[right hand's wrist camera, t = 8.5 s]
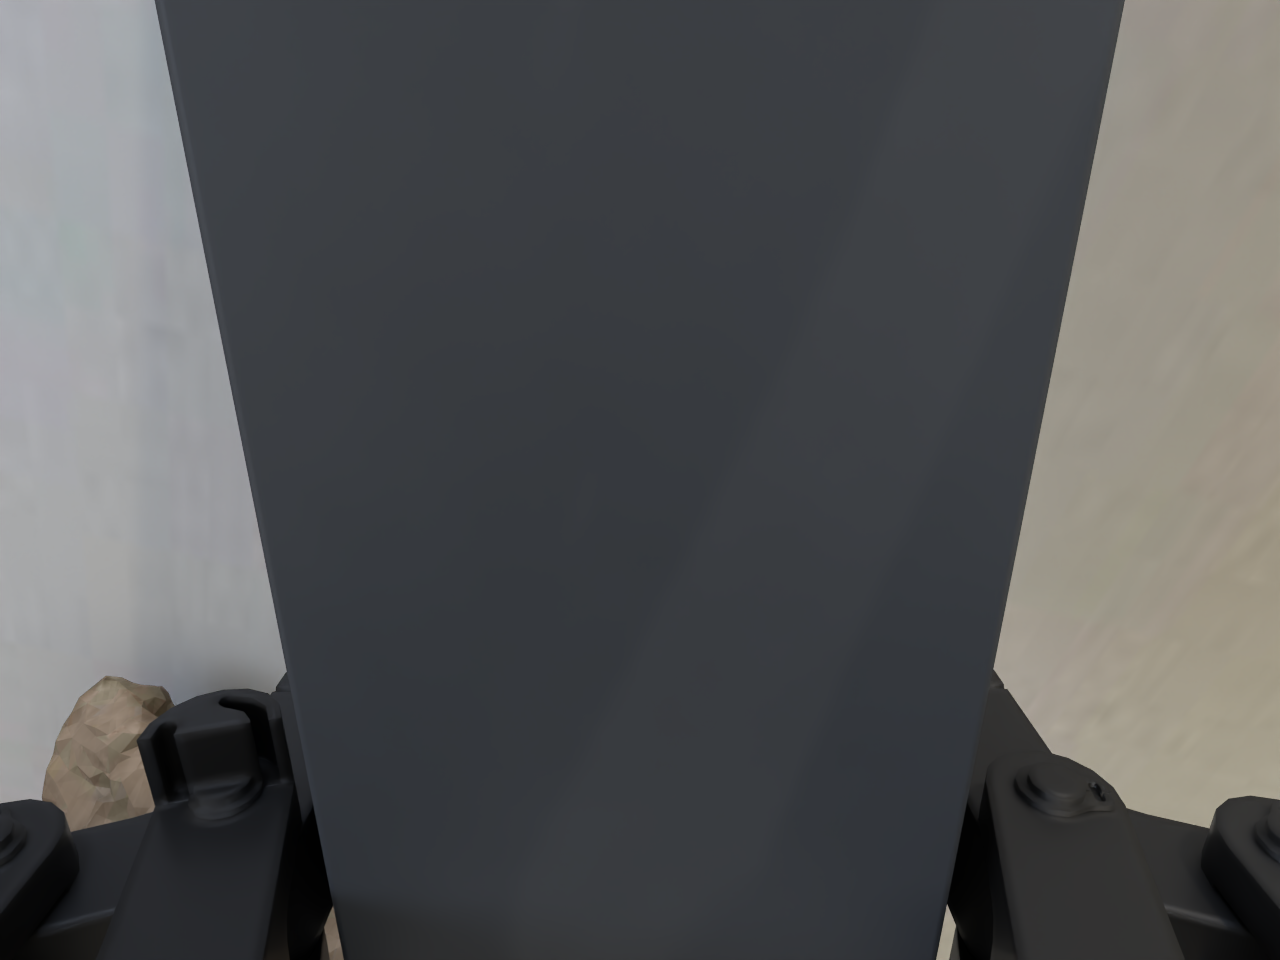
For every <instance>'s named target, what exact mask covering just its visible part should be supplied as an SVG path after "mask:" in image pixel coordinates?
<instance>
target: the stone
mask: <svg viewBox="0 0 1280 960" xmlns="http://www.w3.org/2000/svg"><path fill="white" fill-rule="evenodd" d="M172 707H174V705H173V703H172V700H171V698H170V696H169V693H168V692H167V691H166V690H165V689H164V688H163V687H162V686H159V687H157V686H150V685H139V684H135V683H132V682H130V681H128V680H126V679H124V678H122V677H112V676H105V677H104V678H103V679H102V680H100V681H99V682H98V683H97V684H95V685H94V686H93V687H92V688H91V689H89V690H88V691H87V692H86V693H84V694H83V695H82V696H81V697H80V698H79V699H78V701H77V703H76V705H75V707H74V709H73V711H72V713H71V714H70V716H69V717H68V719H67V720H66V722H65V723H64V725H63V727H62V729H61V731H60V733H59V735H58V738H57V740H56V743H55V748H54V753H53V756H52V758H51V761H50V763H49V765H48V767H47V770H46V775H45V781H44V787H43V794H42V800H43V801H46V802H52V803H53V804H55V805H56V806H57V807H58V808H59V809H61V810H62V811H63V812H64V813H65V816H66V819H67V822H68V825H69V828H70V831H71V832H72V831H77V830H81V829H86V828H90V827H94V826H99V825H103V824H107V823H112V822H116V821H121V820H125V819H129V818H133V817H137V816H140V815H144V814H147V813H150V812H153V810H154V808H155V804H154V801H153V797H152V794H151V790H150V787H149V783H148V780H147V776H146V773H145V769H144V766H143V762H142V759H141V755H140V752H139V748H138V745H137V741H136V740H137V739H138V738H139V736H140V735H141V734H142V732H143V731H144V730H145V729H146V727H147V726H148V725H149V723H151V722H152V721H153V720H155V719H156V718H158V717H159V716H160V715H162V714H163V713H165V712H166V711H167V710H169V709H170V708H172ZM324 929H325V934H326V939H327V944H328V951H329V958H330V960H344V958H343V953H342V948H341V943H340V938H339V933H338V928H337V923H336V918H335V912H334V907H332V909H331V912H330V914H329V917H328V919H327V922H326V924H325V926H324Z"/></svg>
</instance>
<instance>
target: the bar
mask: <svg viewBox="0 0 1280 960" xmlns="http://www.w3.org/2000/svg"><path fill="white" fill-rule="evenodd" d="M1124 1H1125V0H155V4H156V9H157V14H158V19H159V24H160V29H161V34H162V40H163V45H164V50H165V55H166V60H167V65H168V70H169V75H170V80H171V85H172V90H173V95H174V100H175V106H176V111H177V116H178V121H179V126H180V131H181V136H182V141H183V146H184V151H185V156H186V161H187V166H188V171H189V177H190V182H191V187H192V192H193V197H194V202H195V207H196V212H197V217H198V222H199V227H200V232H201V237H202V243H203V248H204V253H205V258H206V263H207V268H208V273H209V278H210V283H211V288H212V293H213V298H214V303H215V309H216V314H217V319H218V324H219V329H220V334H221V339H222V344H223V349H224V354H225V359H226V364H227V369H228V375H229V380H230V385H231V390H232V395H233V400H234V405H235V410H236V415H237V420H238V425H239V430H240V435H241V440H242V446H243V451H244V456H245V461H246V466H247V471H248V476H249V481H250V486H251V491H252V496H253V501H254V506H255V512H256V517H257V522H258V527H259V532H260V537H261V542H262V547H263V552H264V557H265V562H266V567H267V572H268V578H269V583H270V588H271V593H272V598H273V603H274V608H275V613H276V618H277V623H278V628H279V633H280V638H281V643H282V649H283V654H284V659H285V664H286V669H287V674H288V679H289V684H290V689H291V694H292V699H293V704H294V709H295V715H296V720H297V725H298V730H299V735H300V740H301V745H302V750H303V755H304V760H305V765H306V770H307V775H308V781H309V786H310V791H311V796H312V801H313V806H314V811H315V816H316V821H317V826H318V831H319V836H320V841H321V847H322V852H323V857H324V862H325V867H326V872H327V877H328V882H329V887H330V892H331V897H332V902H333V907H334V912H335V918H336V923H337V928H338V933H339V938H340V943H341V948H342V953H343V958H344V960H936V957H937V952H938V947H939V942H940V936H941V931H942V926H943V921H944V916H945V911H946V906H947V901H948V896H949V891H950V886H951V881H952V875H953V870H954V865H955V860H956V855H957V850H958V845H959V840H960V835H961V830H962V825H963V820H964V814H965V809H966V804H967V799H968V794H969V789H970V784H971V779H972V774H973V769H974V764H975V759H976V754H977V748H978V743H979V738H980V733H981V728H982V723H983V718H984V713H985V708H986V703H987V698H988V693H989V687H990V682H991V677H992V672H993V667H994V662H995V657H996V652H997V647H998V642H999V637H1000V632H1001V626H1002V621H1003V616H1004V611H1005V606H1006V601H1007V596H1008V591H1009V586H1010V581H1011V576H1012V571H1013V565H1014V560H1015V555H1016V550H1017V545H1018V540H1019V535H1020V530H1021V525H1022V520H1023V515H1024V510H1025V505H1026V499H1027V494H1028V489H1029V484H1030V479H1031V474H1032V469H1033V464H1034V459H1035V454H1036V449H1037V444H1038V438H1039V433H1040V428H1041V423H1042V418H1043V413H1044V408H1045V403H1046V398H1047V393H1048V388H1049V383H1050V377H1051V372H1052V367H1053V362H1054V357H1055V352H1056V347H1057V342H1058V337H1059V332H1060V327H1061V322H1062V316H1063V311H1064V306H1065V301H1066V296H1067V291H1068V286H1069V281H1070V276H1071V271H1072V266H1073V261H1074V255H1075V250H1076V245H1077V240H1078V235H1079V230H1080V225H1081V220H1082V215H1083V210H1084V205H1085V200H1086V195H1087V189H1088V184H1089V179H1090V174H1091V169H1092V164H1093V159H1094V154H1095V149H1096V144H1097V139H1098V134H1099V128H1100V123H1101V118H1102V113H1103V108H1104V103H1105V98H1106V93H1107V88H1108V83H1109V78H1110V73H1111V67H1112V62H1113V57H1114V52H1115V47H1116V42H1117V37H1118V32H1119V27H1120V22H1121V17H1122V12H1123V6H1124Z"/></svg>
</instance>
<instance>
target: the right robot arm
mask: <svg viewBox="0 0 1280 960" xmlns="http://www.w3.org/2000/svg"><path fill="white" fill-rule="evenodd" d="M136 741H137V745H138V748H139V752H140V755H141V759H142V762H143V766H144V769H145V773H146V776H147V780H148V783H149V787H150V790H151V794H152V797H153V801H154V804H155V808H154V810H153V812H150V813H147V814H144V815H140V816H137V817H133V818H129V819H125V820H121V821H116V822H112V823H107V824H103V825H99V826H94V827H90V828H86V829H81V830H77V831H72V832H71V831H70V828H69V825H68V822H67V819H66V816H65V813H64V812H63V811H62V810H61V809H59V808H58V807H57V806H56V805H55V804H53V803H52V802H46V801H39V800H32V799H28V800H21V801H14V802H7V803H1V804H0V960H330V958H329V951H328V944H327V939H326V934H325V929H324V926H325V924H326V922H327V919H328V917H329V914H330V912H331V909H332V907H333V902H332V897H331V892H330V887H329V882H328V877H327V872H326V867H325V862H324V857H323V852H322V847H321V841H320V836H319V831H318V826H317V821H316V816H315V811H314V806H313V801H312V796H311V791H310V786H309V781H308V775H307V770H306V765H305V760H304V755H303V750H302V745H301V740H300V735H299V730H298V725H297V720H296V715H295V709H294V704H293V699H292V694H291V689H290V684H289V679H288V674H287V672H286V673H285V675H284V676H283V678H282V679H281V681H280V682H279V684H278V685H277V686H276V692H272V694H271V695H269V694H268V693H264V692H259V691H255V690H251V689H232V690H221V691H217V692H213V693H209V694H205V695H201V696H197V697H194V698H192V699H190V700H188V701H185V702H183V703H181V704H179V705H176V706H174V707H172V708H170V709H169V710H167V711H166V712H165V713H163V714H162V715H160V716H159V717H158V718H156V719H155V720H153V721H152V722H151V723H149V725H148V726H147V727H146V729H145V730H144V731H143V732H142V734H141V735H140V736H139V738H138V739H137V740H136ZM947 904H948V907H949V909H950V912H951V914H952V916H953V919H954V921H955V924H956V929H955V934H954V939H953V944H952V949H951V954H950V959H949V960H1280V800H1277V799H1270V798H1263V797H1256V796H1245V797H1238V798H1231V799H1228V800H1227V801H1225V802H1224V803H1223V804H1222V805H1220V806H1219V807H1218V808H1217V809H1216V811H1215V814H1214V817H1213V820H1212V823H1211V826H1210V829H1209V828H1205V827H1200V826H1196V825H1192V824H1187V823H1183V822H1178V821H1174V820H1169V819H1165V818H1161V817H1156V816H1152V815H1147V814H1144V813H1141V812H1137V811H1134V810H1131V809H1127V808H1126V806H1125V804H1124V803H1123V801H1122V800H1121V798H1120V797H1119V795H1118V794H1117V792H1116V791H1115V789H1114V788H1113V787H1112V786H1111V785H1110V784H1109V783H1107V782H1106V781H1105V780H1104V779H1103V778H1101V777H1100V776H1099V775H1098V774H1096V773H1095V772H1094V771H1093V770H1091V769H1089V768H1087V767H1085V766H1083V765H1081V764H1079V763H1077V762H1075V761H1073V760H1071V759H1069V758H1066V757H1062V756H1059V755H1055V754H1052V753H1051V751H1050V750H1049V748H1048V747H1047V746H1046V744H1045V743H1044V741H1043V740H1042V738H1041V737H1040V736H1039V734H1038V733H1037V731H1036V730H1035V728H1034V727H1033V725H1032V724H1031V723H1030V721H1029V720H1028V718H1027V717H1026V715H1025V714H1024V713H1023V711H1022V710H1021V708H1020V707H1019V705H1018V704H1017V702H1016V701H1015V700H1014V698H1013V697H1012V695H1011V694H1010V692H1009V691H1008V690H1007V689H1004V684H1003V682H1002V681H1001V679H1000V678H999V677H998V675H997V674H996V672H995V671H994V670H993V672H992V677H991V682H990V687H989V693H988V698H987V703H986V708H985V713H984V718H983V723H982V728H981V733H980V738H979V743H978V748H977V754H976V759H975V764H974V769H973V774H972V779H971V784H970V789H969V794H968V799H967V804H966V809H965V814H964V820H963V825H962V830H961V835H960V840H959V845H958V850H957V855H956V860H955V865H954V870H953V875H952V881H951V886H950V891H949V896H948V901H947Z"/></svg>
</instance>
